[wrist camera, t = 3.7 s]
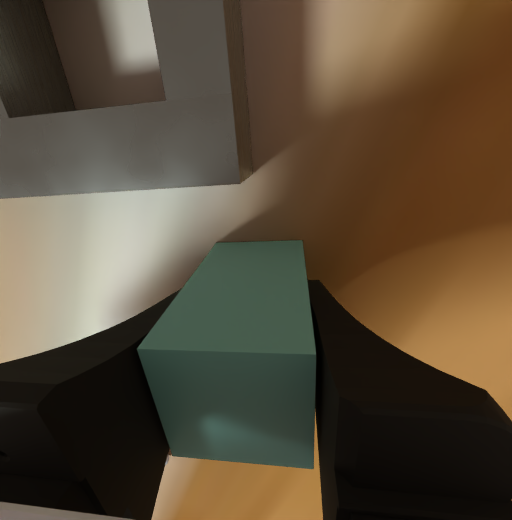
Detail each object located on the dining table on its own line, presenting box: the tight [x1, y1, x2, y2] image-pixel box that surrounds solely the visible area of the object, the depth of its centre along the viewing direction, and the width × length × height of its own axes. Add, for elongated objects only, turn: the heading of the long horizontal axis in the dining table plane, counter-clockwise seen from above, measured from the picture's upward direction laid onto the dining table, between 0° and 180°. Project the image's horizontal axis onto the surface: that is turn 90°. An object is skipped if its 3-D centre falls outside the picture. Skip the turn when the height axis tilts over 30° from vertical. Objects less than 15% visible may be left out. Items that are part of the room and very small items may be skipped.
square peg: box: [137, 240, 316, 469], centre depth 10 cm, size 4×4×7 cm
